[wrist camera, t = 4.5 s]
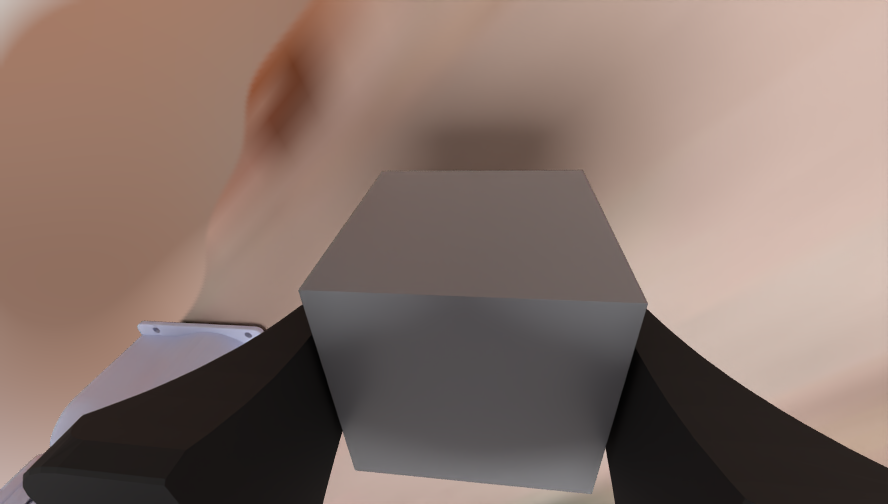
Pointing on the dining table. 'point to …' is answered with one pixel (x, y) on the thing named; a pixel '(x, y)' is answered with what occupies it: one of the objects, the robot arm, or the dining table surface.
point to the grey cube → (477, 327)
